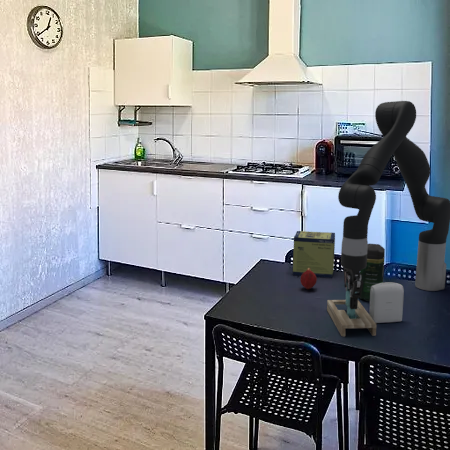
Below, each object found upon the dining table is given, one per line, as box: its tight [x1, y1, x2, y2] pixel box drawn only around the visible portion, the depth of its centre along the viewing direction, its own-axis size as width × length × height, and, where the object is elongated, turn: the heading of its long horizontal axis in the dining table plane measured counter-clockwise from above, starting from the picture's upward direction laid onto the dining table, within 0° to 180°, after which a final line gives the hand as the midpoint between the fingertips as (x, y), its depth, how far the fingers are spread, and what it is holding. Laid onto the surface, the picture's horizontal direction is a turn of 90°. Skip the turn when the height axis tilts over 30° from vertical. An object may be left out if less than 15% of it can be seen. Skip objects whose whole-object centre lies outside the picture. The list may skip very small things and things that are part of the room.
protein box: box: [292, 230, 336, 279], centre depth 215 cm, size 10×16×16 cm
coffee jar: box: [358, 243, 386, 302], centre depth 188 cm, size 10×8×19 cm
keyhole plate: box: [326, 299, 378, 337], centre depth 169 cm, size 10×20×4 cm, turn 2°
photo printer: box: [368, 281, 405, 324], centre depth 169 cm, size 10×4×12 cm, turn 96°
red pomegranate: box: [299, 268, 318, 290], centre depth 197 cm, size 6×6×8 cm
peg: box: [344, 290, 358, 319], centre depth 166 cm, size 5×5×10 cm
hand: (351, 305), depth 166 cm, fingers closed on peg, 3 cm apart
